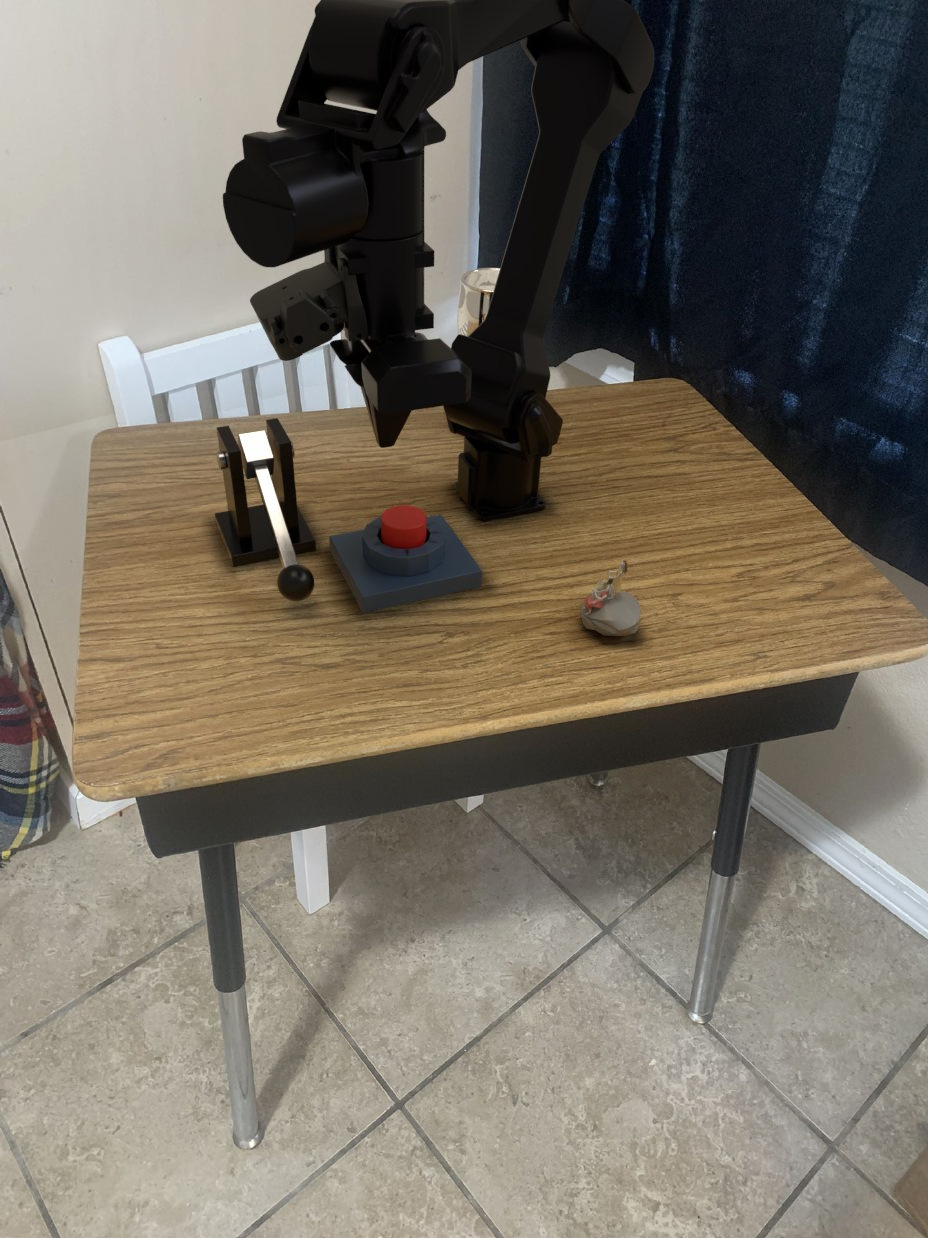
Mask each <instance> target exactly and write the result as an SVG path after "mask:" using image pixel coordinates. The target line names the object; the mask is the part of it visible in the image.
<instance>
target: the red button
mask: <svg viewBox="0 0 928 1238" xmlns="http://www.w3.org/2000/svg"><path fill="white" fill-rule="evenodd" d="M380 516H381V539H382V541H383V543H384V544H385V545H387V546H389V547H391V548H396V549H411V548H416V547H420V546H421V545H423V544H424V543H425V541H426V527H427V517H428V516H427V515H426V512H425V511H423V510H422V509H421V508H419V507H417V506H413V505H409V504H407V505H406V504H401V505H400V504H399V505H394V506H391V507H388V508H387V509H385V510H384V511H383V512H382V513H381V515H380Z"/></svg>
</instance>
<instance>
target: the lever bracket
mask: <svg viewBox="0 0 928 1238" xmlns="http://www.w3.org/2000/svg"><path fill="white" fill-rule="evenodd" d="M265 424H266V434H267V437H268V440H269V443H270V446H271V449H272V453H273V456H274V470H273V475H271V478H272V481H273V484H274V488H275V491H276V494H277V497H278V500H279V503H280V507H281V510H282V513H283V516H284V519H285V522H286V526H287V529H288V532H289V535H290V538H291V541H292V545H293V548H294V551H295V554H296V556H297V555H301V554H307V553H312V552H317V542H316V539H315V537H314V535H313V533H312V530H311V529H310V527H309V525H308V523H307V521H306V520H305V518H304V516H303V514H302V511H301V509H300V508H299V507H298V499H297V488H296V487H297V486H296V478H295V477H296V476H295V466H294V465H295V464H294V458H295V455H296V453H295V452H296V451H295V446H294V444H293V441H292V440H291V438H290V437H289V435H288V434H287V432H286V430H285V428H284V427H283V425H282V422H281V421H280V419H279V418H278V417H276V418H269V419H265ZM216 434H217V441H218V442H217V443H218V449H219V451H216V459H217V464H218V468H219V470H221V471H222V476H223V477H222V478H223V484H224V493H225V498H226V505H227V510H226V511H220V512H215V513H214V520H215V525H216V528H217V530H218V533H219V536H220V538H221V540H222V542H223V545H224V548H225V550H226V553H227V555H228V558H229V560H230V563H231V566H232V567H233V568H237V567H241V566H246V565H253V564H256V563H262V562H267V561H271V560H275V559H276V560H277V559H280V557H279V554H278V551H277V548H276V544H275V541H274V538H273V535H272V531H271V528H270V525H269V522H268V518H267V515H266V512H265V509H264V505H263V504H258V505H253V506H249V505H248V496H247V490H246V489H247V488H246V480H245V472H244V469H243V464H242V456H241V450H240V448H239V446H238V441H237V440H236V438H235V435H234V434H233V432H232V429H231V427H230V425H223V426H217V427H216Z"/></svg>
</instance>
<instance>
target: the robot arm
mask: <svg viewBox="0 0 928 1238" xmlns="http://www.w3.org/2000/svg"><path fill="white" fill-rule="evenodd" d="M519 41H520V46H521V48H522V50H523V51H524V53H525V55H526V56H527V57H528V59H529V60H530V62H531V64H532V65H533V67H534V71H533V78H532V82H531V89H530V91H531V92H530V93H531V97H532V103H533V107H534V113H535V116H536V122H537V126H538V131H539V132H538V137H537V141H536V144H535V146H534V147H535V148H534V150H533V154H532V158H531V162H530V166H529V168H528V172H527V175H526V178H525V182H524V186H523V189H522V192H521V196H520V199H519V202H518V206H517V209H516V213H515V215H514V216H515V217H514V220H513V223H512V227H511V230H510V233H509V237H508V239H507V243H506V247H505V250H504V253H503V257H502V261H501V264H500V267H499V268H500V271H499V274H498V278H497V281H496V285H495V288H494V291H493V295H492V298H491V302H490V305H489V309H488V312H487V315H486V317H485V320H484V321H483V322H482V323H481V324H480V325H479V326H478V327H477V328H476V329H475V330H474V331H473V332H472V333H471V334H470V335H469V336H464V335H461V334H459V335H458V336H457V335H456V337H455V338H454V340H453V341H452V343H451V347H450V346H449V344H447V343H446V342H445V341H443V340H442V338H441V337H439V338H432V339H431V338H430V339H428V337H427V336H426V335H425V334H423V333H421V332H418V331H423V330H429V329H430V330H431V329H434V328H435V314H434V312H433V311H432V310H431V309H430V307H428V306H427V305H426V304H425V268H433V267H435V249H433V247H432V246H430V245H429V244H428V243H427V242H425V147H427V146H428V147H429V146H431V145H435V144H438V143H439V144H440V143H442V142H444V141H445V140H446V137H447V131H446V129H445V128H444V127H443V126H442V124H441V123H440V122H438V120H436V119H435V118H434V117H433V116H432V115H431V114H430V112H429V111H428V109H429V108H430V107H432V106H433V105H434V104H436V103H437V102H438V101H439V100H441V99H442V98H443V97H445V96H446V95H447V94H448V93H449V92H451V91H452V90H453V88H455V85H456V82H457V78H458V74H459V71H460V70H461V69H462V68H464V67H465V66H467V64H469V63H472V62H473V61H476V60H478V59H481V58H483V57H485V56H487V55H489V54H491V53H494V52H496V51H499V50H501V49H503V48H506V47H508V46H511V45H513V44H514V43H515V44H516V43H517V42H519ZM654 68H655V48H654V45H653V43H652V40H651V38H650V36H649V33H648V32H647V30H646V27H645V26H644V23H643V21H642V19H641V17H640V15H639V13H638V11H637V10H636V9H635V8H634V7H633V6H632V5H631V4H630V3H628V2H627V1H626V0H319V1H318V3H317V4H316V5H315V7H314V18H313V21H312V23H311V26H310V28H309V30H308V32H307V36H306V38H305V40H304V44H303V46H302V49H301V52H300V54H299V56H298V60H297V62H296V65H295V66H294V70H293V73H292V75H291V78H290V81H289V83H288V86H287V89H286V92H285V94H284V97H283V100H282V102H281V104H280V108H279V111H278V113H277V116H276V120H275V121H276V125H277V127H278V128H280V129H281V130H277V131H271V132H268V131H256V132H255V131H254V132H250V133H246V134H244V135H243V136H242V138H241V142H242V153H243V159H241V160H239V161H237V163H235V164H234V166H233V167H232V168H231V169H230V171H229V172H228V176H227V179H226V181H225V182H226V183H225V192H223V193H222V207H223V211H224V215H225V221H226V224H227V225H228V228H229V231H230V233H231V235H232V237H233V239H234V241H235V243H236V244H237V245H238V247H239V249H240V250H241V251H242V253H244V254H245V255H246V257H248V258H249V259H250V260H251V261H252V262H254V263H255V264H257V265H259V266H261V267H263V268H277V267H280V266H283V265H286V264H289V263H291V262H294V261H297V260H300V259H304V258H305V257H309V256H312V255H314V254H315V255H316V254H317V253H321V252H323V253H324V255H323V257H324V260H323V262H321V263H319V264H317V265H314V266H312V267H308V268H305V269H302V270H299V271H297V272H295V273H293V274H291V275H289V276H287V277H284V278H283V279H280V280H278V281H276V282H274V283H272V284H270V285H268V286H266V287H264V288H261V289H260V290H258V291H256V292H255V293H254V294H253V295H251V297H250V299H249V303H250V304H251V307H252V309H253V311H254V313H255V315H256V317H257V319H258V321H259V323H260V326H262V329H263V331H264V333H265V335H266V338H267V340H268V341H269V343H270V345H271V347H272V348H273V349H274V351H275V353H276V355H277V357H278V359H279V360H281V361H284V362H288V361H293V360H296V359H298V358H300V357H302V356H303V355H304V354H306V353H308V352H311V351H312V350H314V349H316V348H319V347H320V346H323V345H324V344H327V343H328V342H329V346H330V347H331V350H332V351H333V352H334V353H335V355H336V357H337V358H338V359H339V360H340V362H342V363H343V364H344V368H345V370H346V371H347V372H348V374H349V375H350V377H351V378H352V380H353V381H354V383H355V384H356V385H358V386H359V387H360V390H361V394H362V398H363V400H364V403H365V404H364V405H365V407H366V411H367V414H368V417H369V421H370V424H371V428H372V431H373V435H374V438H375V441H376V444H378V446H379V447H380V448H381V449H385V448H390V447H394V446H395V444H396V442H397V440H398V438H399V436H400V434H401V432H402V430H403V429H404V427H405V425H406V423H407V421H408V419H409V417H410V415H411V413H412V412H413V411H417V410H418V411H419V410H424V409H432V408H437V407H443V410H444V414H445V418H446V422H447V425H448V426H447V427H448V430H449V432H450V433H451V434H454V435H459V436H461V437H463V452H459V454H458V458H457V460H458V462H457V482H455V484H454V489H455V490H456V492H457V494H458V495H459V497H460V498H461V500H463V501H464V503H465V504H466V505H467V506H468V507H469V508H470V510H471V511H472V512H473V514H475V516H476V517H477V518H478V520H480V521H482V522H488V521H494V520H498V519H502V518H509V517H512V516H513V517H514V516H518V515H522V514H528V513H532V512H533V513H534V512H538V511H543V510H545V509H546V508H547V507H546V506H547V502H546V501H545V500H544V499H543V498H542V497H541V495H540V494H539V490H540V489H539V488H540V479H541V478H540V476H541V466H542V458H548V457H550V456H551V455H552V452H553V447H554V446H555V445H557V444H558V442H559V439H560V436H561V431H562V427H563V424H564V419H563V418H562V417H561V415H560V414H559V413H558V412H557V411H556V410H555V409H554V407H553V406H552V405H551V403H550V402H549V401H548V400H547V399H546V398H547V394H548V389H549V384H550V381H551V370H550V366H549V361H548V356H547V351H546V348H545V342H544V334H545V331H546V329H547V328H546V327H547V324H548V321H549V318H550V314H551V312H552V308H553V305H554V303H555V299H556V295H557V292H558V290H559V289H558V288H559V285H560V282H561V280H562V276H563V272H564V269H565V267H566V263H567V259H568V256H569V253H570V250H571V247H572V244H573V240H574V237H575V234H576V231H577V227H578V224H579V222H580V217H581V214H582V212H583V209H584V204H585V202H586V199H587V195H588V192H589V189H590V186H591V183H592V180H593V176H594V172H595V170H596V167H597V163H598V159H599V158H600V155H601V153H602V152H603V151H604V150H605V149H606V148H607V147H608V146H609V145H610V144H611V143H612V142H613V141H614V140H616V138H617V137H618V136H619V135H620V134H622V132H623V131H624V130H626V128H627V127H628V126H629V125H630V124H631V122H632V120H633V118H634V115H635V113H636V111H637V108H638V106H639V103H640V101H641V98H642V95H643V93H644V91H645V90H646V89H647V87H648V86H649V83H650V81H651V78H652V76H653V72H654ZM327 101H329V102H333V103H337V104H342V105H347V106H351V107H357V108H362V109H366V110H371V111H376V113H373V112H368V111H363V110H358V109H353V108H348V107H343V106H338V105H334V104H329V103H326V102H327ZM416 331H417V332H416ZM339 334H340V339H334V340H333V338H334V337H336V336H337V335H339Z"/></svg>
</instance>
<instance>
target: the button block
mask: <svg viewBox="0 0 928 1238" xmlns="http://www.w3.org/2000/svg"><path fill="white" fill-rule="evenodd" d="M426 517H427V527H426V541H425V543H424V544H423V545H421V546H420V547H416V548H411V549H396V548H391V547H389V546H387V545H385V544H384V543H383V541H382V539H381V515H380V516H378V517H376V518H374V519H373V520H372V521H370V522H368V523H367V524H366V525H365V528H364V529H359V530H353V531H349V532H343V533H338V534H333V535H329V536H328V543H329V553H330V555H331V557H332V558H333V561H334V562H335V564H336V566H337V568H338V570H339V571H340V573H341V575H342V577H343V579H344V580H345V583H346V584H347V586H348V588H349V590H350V592H351V593H352V595H353V597H354V599H355V601H356V603H357V605H358V607H359V609H360V611H361V612H362V613H363V614H367V613H370V612H375V611H380V610H384V609H388V608H389V609H390V608H393V607H398V606H402V605H406V604H410V603H415V602H420V601H425V600H428V599H432V598H433V599H434V598H437V597H443V596H446V595H451V594H456V593H459V592H464V591H469V590H473V589H474V590H475V589H478V588H481V587H482V584H483V582H482V581H483V570H482V569H481V567H480V566H479V564H478V562H477V561H476V560H475V558H473V556H472V555H471V553H470V552H469V551H468V549H467V548H466V547H465V545H464V543H463V542H462V541H461V539H459V537H458V536H457V534H456V533H455V532H454V530H453V529H452V527H451V526H450V525H449V523H448V522H447V521H446V519H445V518H444V516H443V515H442V514H435V515H431V516H426Z"/></svg>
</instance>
